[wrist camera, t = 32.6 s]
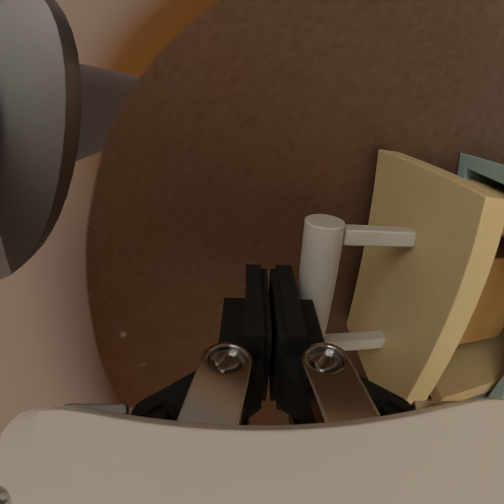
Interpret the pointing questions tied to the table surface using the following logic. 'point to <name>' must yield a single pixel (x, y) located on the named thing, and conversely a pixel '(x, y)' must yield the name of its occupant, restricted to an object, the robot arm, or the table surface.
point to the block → (489, 304)
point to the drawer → (413, 279)
